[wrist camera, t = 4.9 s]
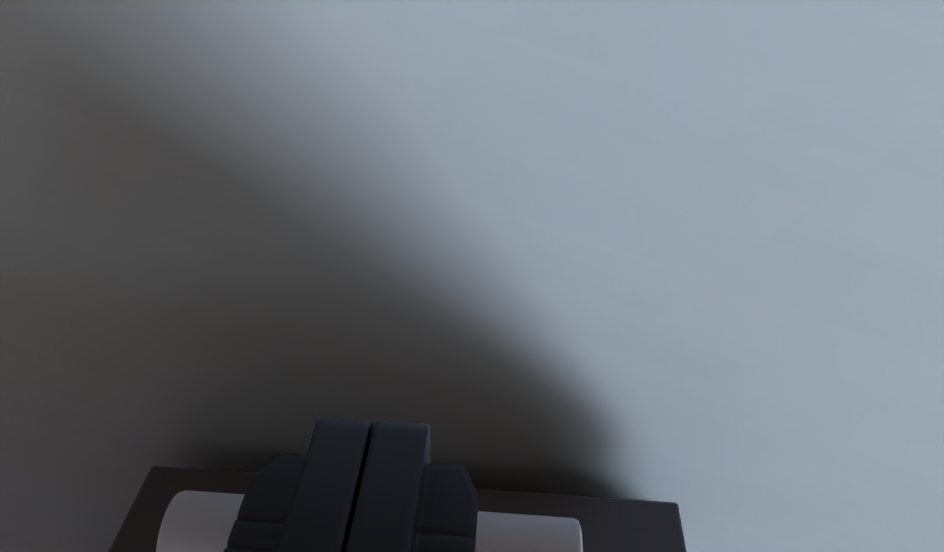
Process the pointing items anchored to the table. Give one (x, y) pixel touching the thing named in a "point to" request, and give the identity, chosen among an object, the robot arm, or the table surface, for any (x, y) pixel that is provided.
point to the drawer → (498, 524)
